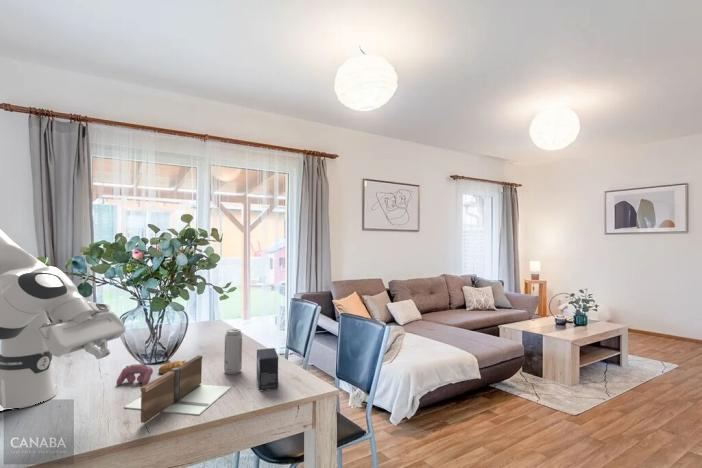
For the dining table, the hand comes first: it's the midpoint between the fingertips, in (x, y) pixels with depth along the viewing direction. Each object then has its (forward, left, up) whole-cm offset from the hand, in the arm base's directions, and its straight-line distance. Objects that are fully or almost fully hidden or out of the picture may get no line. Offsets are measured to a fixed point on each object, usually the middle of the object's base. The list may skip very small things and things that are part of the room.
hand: (104, 356), depth 100 cm
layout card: (+12, +17, -17) cm, 27 cm away
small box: (+33, +32, -17) cm, 49 cm away
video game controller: (-10, +24, -17) cm, 31 cm away
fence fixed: (+12, +19, -17) cm, 28 cm away
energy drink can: (+17, +40, -17) cm, 47 cm away
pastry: (-3, +36, -17) cm, 40 cm away
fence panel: (+12, +5, -16) cm, 21 cm away
